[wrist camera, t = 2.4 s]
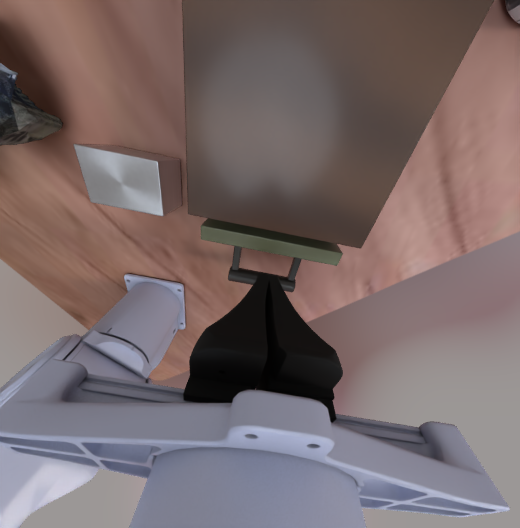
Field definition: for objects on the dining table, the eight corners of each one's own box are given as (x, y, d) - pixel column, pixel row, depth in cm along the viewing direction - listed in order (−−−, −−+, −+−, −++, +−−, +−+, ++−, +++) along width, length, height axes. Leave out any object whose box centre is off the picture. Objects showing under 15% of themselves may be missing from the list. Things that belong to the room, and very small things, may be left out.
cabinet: (333, 216, 19) (361, 248, 13) (216, 192, 19) (187, 214, 13) (420, -1, 12) (587, -172, 6) (229, -50, 11) (173, -298, 5)
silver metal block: (180, 159, 18) (157, 161, 14) (182, 205, 20) (163, 216, 16) (112, 144, 17) (72, 143, 14) (122, 193, 20) (90, 202, 16)
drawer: (308, 272, 22) (317, 307, 17) (216, 255, 22) (199, 285, 17) (391, 62, 13) (462, 9, 8) (231, 23, 12) (203, -57, 7)
